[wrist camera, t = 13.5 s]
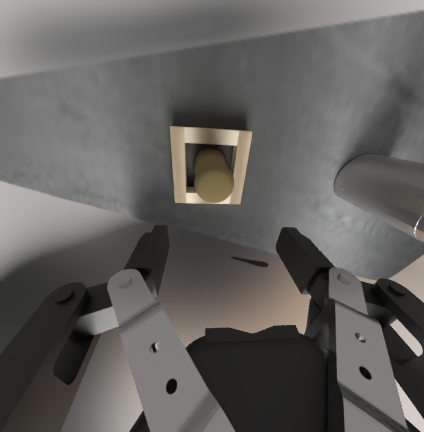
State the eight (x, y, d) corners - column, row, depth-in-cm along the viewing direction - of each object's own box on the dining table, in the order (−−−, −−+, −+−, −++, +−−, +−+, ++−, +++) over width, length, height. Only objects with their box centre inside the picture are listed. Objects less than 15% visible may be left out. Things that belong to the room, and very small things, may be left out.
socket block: (247, 130, 26) (252, 131, 23) (236, 197, 32) (240, 204, 29) (172, 125, 25) (169, 126, 22) (177, 196, 31) (175, 202, 28)
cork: (193, 147, 26) (189, 161, 17) (228, 148, 27) (243, 163, 18) (193, 181, 30) (190, 209, 20) (224, 182, 30) (236, 210, 21)
